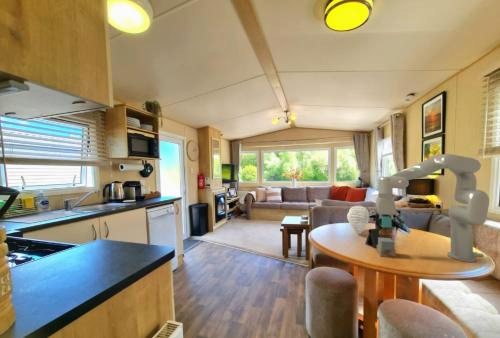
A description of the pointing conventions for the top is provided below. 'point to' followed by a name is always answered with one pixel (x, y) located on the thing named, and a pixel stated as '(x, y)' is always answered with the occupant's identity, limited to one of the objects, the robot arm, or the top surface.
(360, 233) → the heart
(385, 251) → the grey square block
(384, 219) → the teal block
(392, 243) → the grey squat block
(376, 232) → the door stopper
